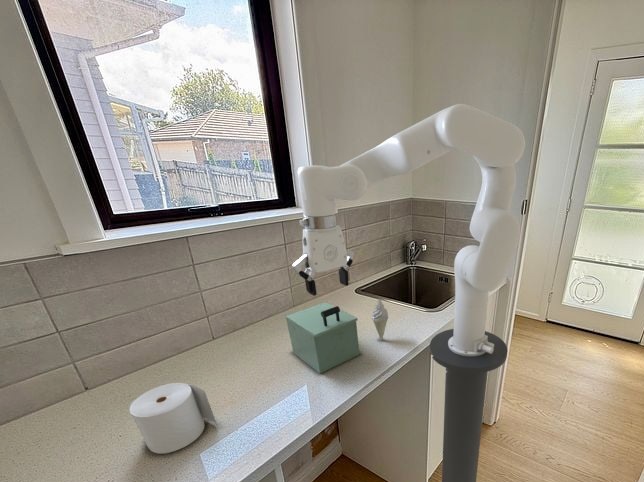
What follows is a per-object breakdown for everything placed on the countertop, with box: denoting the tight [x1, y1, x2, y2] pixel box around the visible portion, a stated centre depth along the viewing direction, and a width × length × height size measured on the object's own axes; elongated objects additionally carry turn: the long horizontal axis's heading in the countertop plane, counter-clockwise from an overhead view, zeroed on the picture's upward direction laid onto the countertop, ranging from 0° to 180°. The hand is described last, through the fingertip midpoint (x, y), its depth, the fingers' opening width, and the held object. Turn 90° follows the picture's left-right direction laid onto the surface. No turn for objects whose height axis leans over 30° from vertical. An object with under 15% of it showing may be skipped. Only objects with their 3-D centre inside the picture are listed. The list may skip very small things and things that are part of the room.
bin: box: [285, 317, 360, 374], centre depth 99 cm, size 16×14×12 cm
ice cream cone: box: [371, 297, 389, 341], centre depth 105 cm, size 5×5×15 cm
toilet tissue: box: [128, 382, 218, 455], centre depth 71 cm, size 11×12×10 cm
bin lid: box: [285, 302, 358, 337], centre depth 95 cm, size 16×14×5 cm
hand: (328, 289), depth 87 cm, fingers open, 9 cm apart
